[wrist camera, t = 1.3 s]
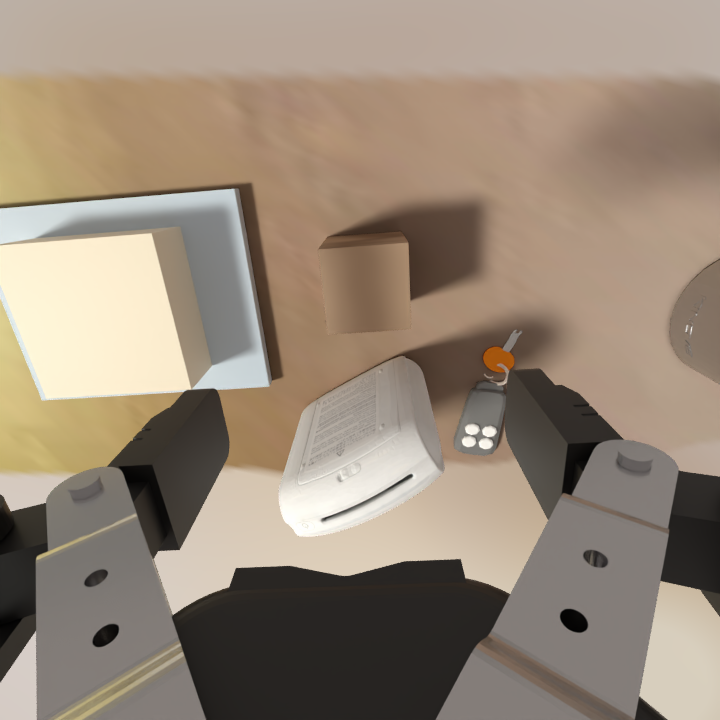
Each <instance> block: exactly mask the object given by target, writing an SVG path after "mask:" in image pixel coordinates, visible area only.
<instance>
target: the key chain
mask: <svg viewBox="0 0 720 720" xmlns="http://www.w3.org/2000/svg"><path fill="white" fill-rule="evenodd" d="M516 331H517V330H515V331H513V332H512V334H511V335H510V338H509V339H508V341H507V342H506V344H505V345H504V347H503V348H502V349H501V348H500V347H491V348H488V349H487V350H486V351H485V352H484V355H483V361H484V363H485V365H486V366H487V367H488V368H489V369H491V370H492V371H495V372H506V378H505V380H504V381H502V382H494V381H493V380H489V381H480V382H477V385H476V387H475V388H472V389H471V391H470V393H469V395H468V397H467V400H466V403H465V406H464V409H463V412H462V415H461V418H460V421H459V424H458V427H457V430H456V433H455V436H454V448H455V449H456V450H458V451H459V452H462V453H466V454H472V455H483V456H485V455H489V454H492V453H493V452H494V450H495V449H496V447H497V442H498V438H499V434H500V429H501V425H502V420H503V415H504V411H505V406H506V395H505V393H504V392H503V389H504V387H503V386H502V385H504V384H506V383H507V378H508V373H509V370H510V369H511V368H512V367H513V365H514V357H513V355H512V354H511V353H510V350H511V349H512V347H513V346H514V344H515V343H516V341H517V338H518V337H519V335H520V334H521V333H522V332H523V331H520V332H519V333H515V332H516ZM484 376H485V377H486V378H493V377H494V376H491V377H489V376H487V375H486V374H485V373H484Z"/></svg>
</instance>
